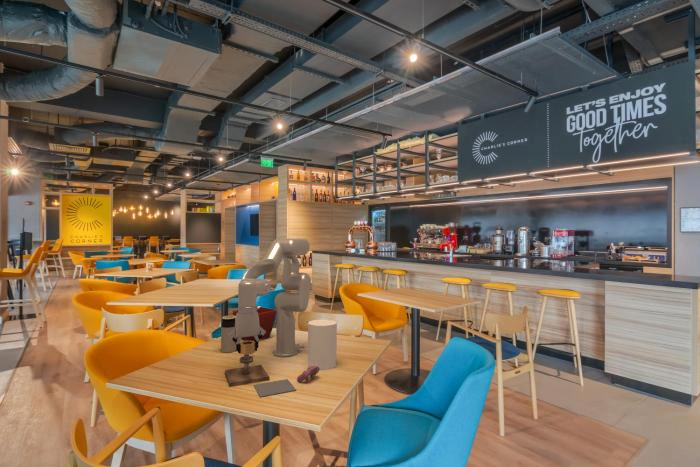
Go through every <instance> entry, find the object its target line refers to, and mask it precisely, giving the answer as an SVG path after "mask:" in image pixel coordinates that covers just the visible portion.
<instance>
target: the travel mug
mask: <svg viewBox="0 0 700 467" xmlns="http://www.w3.org/2000/svg"><path fill="white" fill-rule="evenodd" d="M221 319H222V322H221V325H220V327H221V328H220V330H221V331H220V332H221V334H220V352H221V353H223V352H224V353H223V354H225V353H226V354H229V353H234V352H237V351H236V343H235V342H234V341H233V340H232V339H230V338H229V336H228V335H229V334H230V333H231V332H232V331H233V330H234V329H235V319H236V316H233V315H224V316H221ZM233 337H234V338H237V337H236V335H235V334H234V335H233Z"/></svg>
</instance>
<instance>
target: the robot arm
mask: <svg viewBox="0 0 700 467" xmlns="http://www.w3.org/2000/svg"><path fill="white" fill-rule="evenodd" d="M310 248H311V246H310V242H309V241H308V240H307V239H306V238H276V239H274V240H273V241H272V242H271V244H270V245H269V247H268V249H267V251H266V252H265V254H264V255H263V258H262V259H261V260H258V262H256V263H255V264H253V265H251V267H249V268H248V269H247V270H246V271H245V273H244V274H243V276H242V278H241V280H240V281H239V283H238V286H237V290H238V291H237V292H238V300H237V302H238V303H237V304H238V307H237V308H238V309H237V310H238V313H237V314H236V319H235V329H234V330H233V331H232V332H231V333H230V334H229V335H228V336H229V338H230V339H232V340H233V341H234V342H235V343H236V351H235V352H237V353H238V354H240V342H241V340H242V339H241V338H242V337H250V336H254V337H255V351H256V352H257V351H258V349H259V342H260V341H261V340H260V339H261V338H262V336H263V335H264V334H265V333H266V331H265V330H264V329H263V328H261V327H260V324H259V316H258V312H256V311H257V310H258V309H260V307H261V306H259V305H257V297H264V296H266V295H268V294H269V293H270V291H271V289H272V284H271V282H270V281H269V280H268V279H264V278H259V277H260V276H263V275H266V274H269V273H272V272H275V271H276V270H277V269H279V266H280V265H281V263H282V261H283V268H282V276H281V282H280V286H281V288H282V289H283V290H284V291H285V290H286V291H287V292H279V293H277V294H276V296H275V298H274V307H275V310H276V316H275V317H276V331H275V332H276V334H275V335H276V338H275V340H276V341H275V342H276V343H275V344H276V346H275V348H276V349H274V350H273V352H272V353H273V354H272V355H274V356H275V357H280V358H287V357H293V356H295V355H298V353H299V351H298V350H299V349H304V348H305V345H304V344H300V343H296V342H295V341H296V339H295V338H296V319H295V315H294V313H293V312H295V313H303V312H305V311H306V310H307V309H308V306H309V300H310V295H311V294H310V293H311V286H312V280H311V276H310V274H309V273H307V272H300V266H301V263H300V260H299V259H298V257H299V256H305V255H306V254H308V253H309V251H310ZM289 291H297V292H289ZM260 331H261V333H260ZM259 333H260V334H259ZM234 334H235V335H236V337H237V338H234V337H233V335H234ZM257 335H258V336H257Z"/></svg>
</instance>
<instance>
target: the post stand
mask: <svg viewBox="0 0 700 467" xmlns="http://www.w3.org/2000/svg"><path fill="white" fill-rule="evenodd" d="M253 362H254V356H251V355H250V354H248V355H243V356H241V357H240V358H239V363H240V364H242V365H244V366H242V367H236V368H229V369H225V370H224V375H225V378H226V381H227V384H228V387H230V388H231V387H237V386H242V385H249V384H257V383H261V382H266V381H268V382H269V381H270V375H269V374H268V372H267V371H266V370H265V368H264V367H263V365H262V364H257V365H250V364H251V363H253Z"/></svg>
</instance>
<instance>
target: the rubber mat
mask: <svg viewBox="0 0 700 467" xmlns="http://www.w3.org/2000/svg"><path fill="white" fill-rule="evenodd" d="M253 387H254V389H255V391H256V392H257V394H258V397H259V398H264V397H270V396H275V395H280V394H281V395H282V394H286V393H290V392H291V393H292V392H296V391H297V388H295V387H294V385H293V384H292V383H291V381H290V380H289V379H288V378H285V379H280V380H273V381H268V382H263V383H261V382H260V383H254V384H253Z"/></svg>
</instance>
